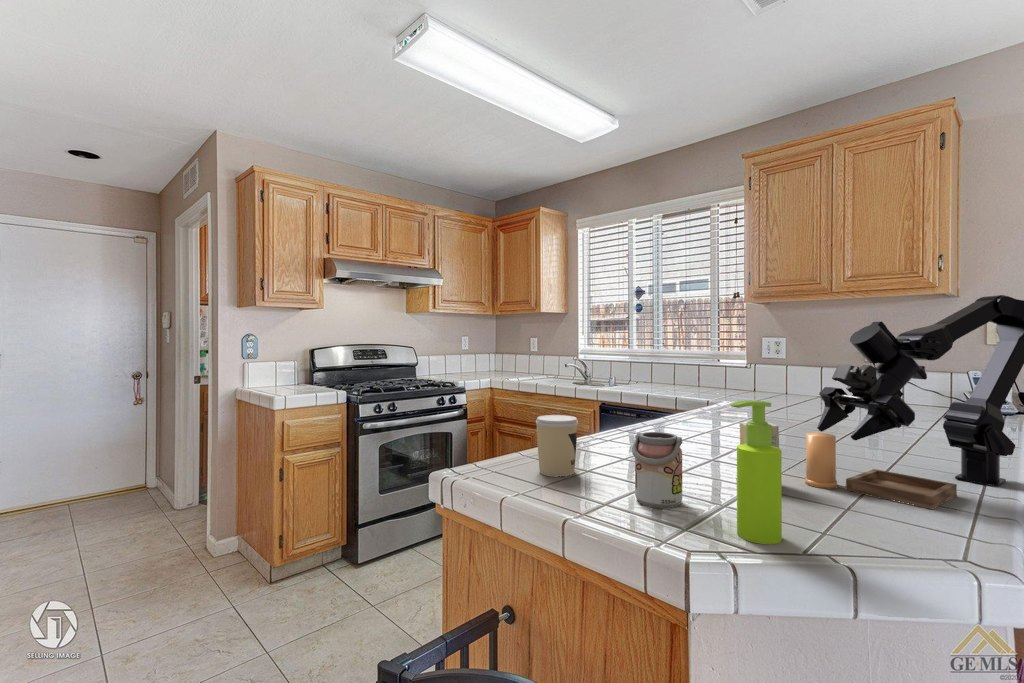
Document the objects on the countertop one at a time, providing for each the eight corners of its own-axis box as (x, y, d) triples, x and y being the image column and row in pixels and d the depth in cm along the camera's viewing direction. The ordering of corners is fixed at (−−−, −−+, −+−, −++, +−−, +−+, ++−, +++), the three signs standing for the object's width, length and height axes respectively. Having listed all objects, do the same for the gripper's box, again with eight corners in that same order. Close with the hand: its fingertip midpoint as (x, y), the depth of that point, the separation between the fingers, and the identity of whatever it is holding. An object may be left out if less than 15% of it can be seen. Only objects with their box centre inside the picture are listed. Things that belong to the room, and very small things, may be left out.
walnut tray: (874, 479, 101) (874, 469, 101) (956, 496, 90) (956, 484, 90) (846, 490, 93) (846, 478, 93) (932, 509, 83) (932, 496, 83)
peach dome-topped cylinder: (812, 479, 101) (812, 431, 101) (842, 485, 96) (841, 435, 96) (799, 483, 98) (799, 434, 98) (829, 490, 93) (829, 438, 93)
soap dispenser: (722, 529, 74) (722, 399, 74) (765, 528, 75) (765, 398, 75) (744, 545, 68) (744, 403, 68) (790, 543, 69) (790, 403, 69)
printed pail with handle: (674, 515, 80) (674, 442, 80) (625, 506, 85) (625, 437, 85) (688, 499, 88) (687, 433, 88) (642, 492, 93) (642, 429, 93)
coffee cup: (580, 478, 102) (580, 421, 102) (536, 478, 102) (536, 421, 102) (575, 466, 112) (575, 414, 112) (535, 466, 112) (534, 414, 112)
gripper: (827, 350, 107) (779, 400, 106) (900, 352, 88) (842, 412, 88) (861, 386, 108) (813, 435, 107) (941, 395, 89) (883, 455, 88)
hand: (835, 434), depth 97 cm, fingers open, 9 cm apart
